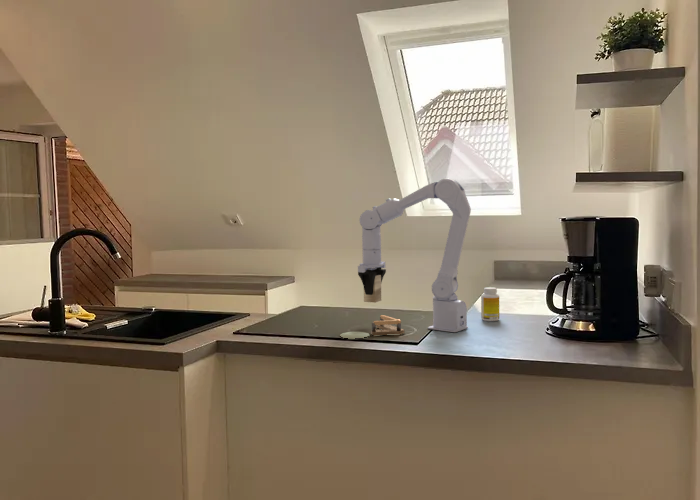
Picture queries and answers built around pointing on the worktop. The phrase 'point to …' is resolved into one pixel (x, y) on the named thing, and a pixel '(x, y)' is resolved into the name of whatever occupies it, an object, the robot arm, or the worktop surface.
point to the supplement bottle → (490, 304)
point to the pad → (354, 335)
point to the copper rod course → (386, 326)
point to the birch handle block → (374, 291)
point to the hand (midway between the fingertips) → (372, 293)
